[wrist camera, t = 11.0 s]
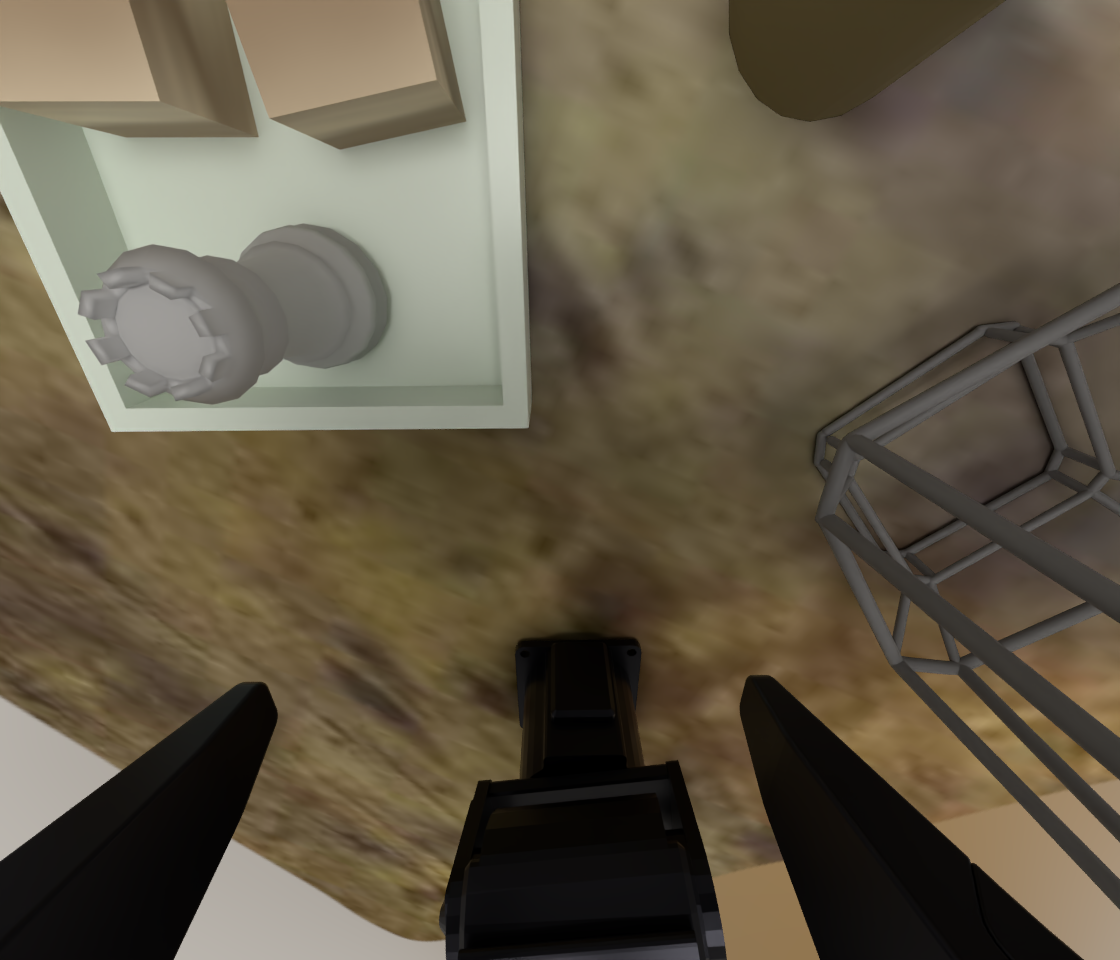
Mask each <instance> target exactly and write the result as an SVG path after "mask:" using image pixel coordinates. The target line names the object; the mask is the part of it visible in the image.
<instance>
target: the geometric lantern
mask: <svg viewBox="0 0 1120 960" xmlns="http://www.w3.org/2000/svg"><path fill="white" fill-rule="evenodd" d="M1119 306H1120V283H1119V284H1117V285H1115V286H1113V287H1111V288H1110V289H1108V290H1106V291H1104V292H1102V293H1101V294H1099V295H1097V296H1095V297H1093V298H1092V299H1090V300H1088V301H1086V302H1084V303H1083V304H1081V305H1079V306H1077V307H1075V308H1074V309H1072V310H1070V311H1068V312H1066V313H1065V314H1063V315H1061V316H1059V317H1057V318H1056V319H1054V320H1052V321H1050V322H1048V323H1047V324H1045V325H1043V326H1041V327H1039V328H1038V329H1032V328H1028V327H1024V326H1021V325H1020V324H1019V322H1016V321H1012V322H1004V323H996V324H988V325H980V326H977V327H976V328H975V329H974V330H973V331H971V332H970V333H968V334H967V335H965V336H964V337H962V338H961V339H959V340H958V341H956V342H955V343H953V344H952V345H950V346H949V347H947V348H945V349H944V350H942V351H941V352H939V353H938V354H936V355H935V356H933V357H932V358H930V359H929V360H927V361H926V362H924V363H923V364H921V365H920V366H918V367H917V368H915V369H914V370H912V371H910V372H909V373H907V374H906V375H904V376H903V377H901V378H900V379H898V380H897V381H895V382H894V383H892V384H891V385H889V386H888V387H886V388H885V389H883V390H882V391H880V392H879V393H877V394H875V395H874V396H872V397H871V398H869V399H868V400H866V401H865V402H863V403H862V404H860V405H859V406H857V407H856V408H854V409H853V410H851V411H850V412H848V413H847V414H845V415H844V416H842V417H840V418H839V419H837V420H836V421H834V422H833V423H831V424H830V425H828V426H827V427H825V428H824V429H823V430H822V431H820V432H818V434H817V439H816V447H815V455H814V465H815V466H816V467H817V468H818V469H819V471H820V473H821V474H822V476H823V477H824V479H825V480H826V483H825V486H824V489H823V492H822V495H821V498H820V501H819V505H818V509H817V512H816V516H815V521H816V522H817V523H818V524H819V526H820V528H821V530H822V532H823V534H824V536H825V538H826V540H827V542H828V544H829V545H830V547H831V549H832V551H833V553H834V555H835V557H836V559H837V561H838V563H839V565H840V567H841V569H842V571H843V573H844V575H845V577H846V579H847V581H848V583H849V585H850V587H851V589H852V591H853V593H854V595H855V597H856V599H857V601H858V603H859V605H860V607H861V609H862V611H863V613H864V615H865V617H866V619H867V621H868V623H869V625H870V627H871V629H872V631H873V633H874V635H875V637H876V639H877V641H878V643H879V645H880V647H881V649H882V651H883V652H884V654H885V656H886V658H887V660H888V662H889V664H890V665H891V667H892V668H893V669H894V670H895V671H896V672H897V674H898V675H899V676H900V677H901V678H902V679H903V680H904V681H905V682H906V683H907V684H908V685H909V686H910V687H911V688H912V690H913V691H914V692H915V693H916V694H917V695H918V696H919V697H920V698H921V699H922V700H923V701H924V702H925V703H926V704H927V705H928V707H929V708H930V709H931V710H932V711H933V712H934V713H935V714H936V715H937V716H938V717H939V718H940V719H941V720H942V721H943V723H944V724H945V725H946V726H947V727H948V728H949V729H950V730H951V731H952V732H953V733H954V734H955V735H956V736H957V737H958V739H959V740H960V741H961V742H962V743H963V744H964V745H965V746H966V747H967V748H968V749H969V750H970V751H971V752H972V753H973V754H974V756H975V757H976V758H977V759H978V760H979V761H980V762H981V763H982V764H983V765H984V766H985V767H986V768H987V769H988V770H989V771H990V773H991V774H992V775H993V776H994V777H995V778H996V779H997V780H998V781H999V782H1000V783H1001V784H1002V785H1003V786H1004V787H1005V788H1006V789H1007V791H1008V792H1009V793H1010V794H1011V795H1012V796H1013V797H1014V798H1015V799H1016V800H1017V801H1018V802H1019V803H1020V804H1021V805H1022V806H1023V808H1024V809H1025V810H1026V811H1027V812H1028V813H1029V814H1030V815H1031V816H1032V817H1033V818H1034V819H1035V820H1036V821H1037V822H1038V823H1039V824H1040V826H1041V827H1042V828H1043V829H1044V830H1045V831H1046V832H1047V833H1048V834H1049V835H1050V836H1051V837H1052V838H1053V839H1054V840H1055V841H1056V843H1057V844H1059V846H1060V847H1061V848H1062V849H1063V850H1064V851H1065V852H1066V853H1067V854H1068V855H1069V856H1070V857H1071V858H1072V859H1073V860H1074V862H1075V863H1076V864H1077V865H1078V866H1079V867H1080V868H1081V869H1082V870H1083V871H1084V872H1085V873H1086V874H1087V875H1088V876H1089V877H1090V878H1091V880H1092V881H1093V882H1094V883H1095V884H1096V885H1097V886H1098V887H1099V888H1100V889H1101V890H1102V891H1103V892H1104V893H1105V895H1106V896H1107V897H1108V898H1110V900H1111V901H1112V902H1113V903H1114V904H1115V905H1116V906H1117V907H1118V908H1119V909H1120V879H1119V878H1118V877H1117V876H1116V875H1115V874H1114V873H1113V872H1112V871H1111V870H1110V869H1109V868H1108V867H1107V866H1106V865H1105V864H1104V863H1103V862H1102V861H1101V860H1100V859H1099V858H1098V857H1097V856H1096V855H1095V854H1094V853H1093V852H1092V851H1091V850H1090V849H1089V848H1088V847H1087V846H1086V845H1085V844H1084V843H1083V842H1082V841H1081V840H1080V839H1079V838H1078V837H1077V836H1076V835H1075V834H1074V833H1073V832H1072V831H1071V830H1070V829H1069V828H1068V827H1067V826H1066V825H1065V824H1064V823H1063V822H1062V821H1061V820H1060V819H1059V818H1058V817H1057V816H1056V815H1055V814H1054V813H1053V812H1052V811H1051V810H1050V809H1049V808H1048V807H1047V806H1046V804H1045V803H1043V801H1041V800H1040V798H1039V797H1038V796H1037V795H1036V794H1035V793H1034V792H1033V791H1032V790H1031V789H1030V788H1029V787H1028V786H1027V785H1026V784H1025V783H1024V782H1023V781H1022V780H1021V779H1020V778H1019V777H1018V776H1017V775H1016V774H1015V773H1014V772H1013V771H1012V770H1011V769H1010V768H1009V767H1008V766H1007V765H1006V764H1005V763H1004V762H1003V761H1002V760H1001V759H1000V758H999V757H998V756H997V755H996V754H995V753H994V752H993V751H992V750H991V749H990V748H989V747H988V746H987V745H986V744H985V743H984V742H983V741H982V740H981V739H980V738H979V737H978V736H977V735H976V734H975V733H974V732H973V731H972V730H971V729H970V728H969V727H968V726H967V725H966V724H965V723H964V722H963V721H962V720H961V719H960V718H959V717H958V716H957V715H956V714H955V713H954V712H953V711H952V710H951V709H950V708H949V706H948V705H947V704H946V703H945V702H944V701H943V700H942V699H941V698H940V697H939V696H938V695H937V694H936V693H935V692H934V691H933V690H932V689H931V688H930V687H929V686H928V685H927V684H926V683H925V682H924V681H923V680H922V679H921V678H920V677H919V676H918V675H917V674H916V673H915V672H914V671H917V672H927V673H937V674H948V675H958V676H959V677H960V678H961V679H962V680H963V681H964V682H965V683H966V684H967V685H968V686H969V687H970V688H971V689H972V690H973V691H974V692H975V693H976V694H977V695H978V696H979V698H980V699H981V700H982V701H983V702H984V703H985V704H986V705H987V706H988V707H989V708H990V709H991V710H992V711H993V712H994V713H995V714H996V715H997V716H998V717H999V718H1000V719H1001V720H1002V722H1003V723H1004V724H1005V725H1006V726H1007V727H1008V728H1009V729H1010V730H1011V731H1012V732H1013V733H1014V734H1015V735H1016V736H1017V737H1018V738H1019V739H1020V740H1021V741H1022V742H1023V743H1024V744H1025V745H1026V746H1027V747H1028V748H1029V749H1030V751H1031V752H1032V753H1033V754H1034V755H1035V756H1036V757H1037V758H1038V759H1039V760H1040V761H1041V762H1042V763H1043V764H1044V765H1045V766H1046V767H1047V768H1048V769H1049V770H1050V771H1051V772H1052V773H1053V774H1054V775H1055V776H1056V777H1057V778H1058V779H1059V780H1060V781H1061V782H1062V783H1063V784H1064V785H1065V787H1066V788H1067V789H1068V790H1069V791H1070V792H1071V793H1072V794H1073V795H1074V796H1075V797H1076V798H1077V799H1078V800H1079V801H1080V802H1081V803H1082V804H1083V805H1084V806H1085V807H1086V808H1087V809H1088V810H1089V811H1090V812H1091V813H1092V814H1093V815H1094V816H1095V817H1096V818H1097V819H1098V820H1099V822H1100V823H1101V824H1103V826H1104V827H1105V828H1106V829H1107V830H1108V831H1109V832H1110V833H1111V834H1112V835H1113V836H1114V837H1115V838H1116V839H1117V840H1118V841H1119V842H1120V815H1119V814H1118V813H1117V812H1116V811H1114V810H1113V809H1112V807H1111V806H1110V805H1108V804H1107V803H1106V802H1105V801H1104V800H1103V799H1102V798H1101V797H1100V796H1099V795H1098V794H1097V793H1096V792H1095V791H1094V790H1093V789H1092V788H1091V787H1090V786H1089V785H1088V784H1087V783H1086V782H1085V781H1084V780H1083V779H1082V778H1081V777H1080V776H1079V775H1078V774H1077V773H1076V772H1075V771H1074V770H1073V769H1072V768H1071V767H1070V766H1069V765H1068V764H1067V763H1066V762H1065V761H1064V760H1063V759H1062V758H1061V757H1060V756H1059V755H1058V754H1057V753H1055V752H1054V751H1053V750H1052V749H1051V748H1050V747H1049V746H1048V745H1047V744H1046V743H1045V742H1044V741H1043V740H1042V739H1041V738H1040V737H1039V736H1038V735H1037V734H1036V733H1035V732H1034V731H1033V730H1032V729H1031V728H1030V727H1029V726H1028V725H1027V724H1026V723H1025V722H1024V721H1023V720H1022V719H1021V718H1020V717H1019V716H1018V715H1017V714H1016V713H1015V712H1014V711H1013V710H1012V709H1011V708H1010V707H1009V706H1008V705H1007V704H1006V703H1005V702H1004V701H1003V700H1002V699H1001V698H1000V697H999V696H998V695H997V694H996V693H995V692H994V691H993V690H992V689H991V688H990V687H989V686H988V685H987V684H986V683H985V682H984V681H983V680H982V679H981V678H980V677H979V676H978V675H977V674H976V673H975V672H974V671H973V670H972V669H974V668H976V667H978V666H981V665H983V664H985V665H987V666H988V667H989V668H990V669H991V670H992V671H994V672H995V673H996V674H997V675H998V676H999V677H1000V678H1002V679H1003V680H1004V681H1005V682H1006V683H1007V684H1009V685H1010V686H1011V687H1012V688H1013V689H1014V690H1016V691H1017V692H1018V693H1019V694H1020V695H1021V696H1023V697H1024V698H1025V699H1026V700H1027V701H1028V702H1030V703H1031V704H1032V705H1033V706H1034V707H1035V708H1037V709H1038V710H1039V711H1040V712H1041V713H1042V714H1043V715H1045V716H1046V717H1047V718H1048V719H1049V720H1050V721H1052V722H1053V723H1054V724H1055V725H1056V726H1057V727H1059V728H1060V729H1061V730H1062V731H1063V732H1064V733H1066V734H1067V735H1068V736H1069V737H1070V738H1071V739H1073V740H1074V741H1075V742H1076V743H1077V744H1078V745H1079V746H1081V747H1082V748H1083V749H1084V750H1085V751H1086V752H1088V753H1089V754H1090V755H1091V756H1092V757H1093V758H1095V759H1096V760H1097V761H1098V762H1099V763H1100V764H1102V765H1103V766H1104V767H1105V768H1106V769H1107V770H1109V771H1110V772H1111V773H1112V774H1113V775H1114V776H1116V777H1117V778H1118V779H1119V780H1120V738H1119V737H1118V736H1117V735H1115V734H1114V733H1113V732H1112V731H1110V730H1109V729H1108V728H1106V727H1105V726H1104V725H1103V724H1101V723H1100V722H1099V721H1098V720H1096V719H1095V718H1094V717H1093V716H1091V715H1090V714H1089V713H1088V712H1086V711H1085V710H1084V709H1082V708H1081V707H1080V706H1079V705H1077V704H1076V703H1075V702H1074V701H1072V700H1071V699H1070V698H1069V697H1067V696H1066V695H1065V694H1064V693H1062V692H1061V691H1060V690H1058V689H1057V688H1056V687H1055V686H1053V685H1052V684H1051V683H1050V682H1048V681H1047V680H1046V679H1045V678H1043V677H1042V676H1041V675H1040V674H1038V673H1037V672H1036V671H1034V670H1033V669H1032V668H1031V667H1029V666H1028V665H1027V664H1026V663H1024V662H1023V661H1022V660H1021V659H1019V658H1018V657H1017V656H1016V655H1014V654H1013V653H1012V652H1013V651H1015V650H1017V649H1020V648H1022V647H1024V646H1027V645H1029V644H1031V643H1034V642H1036V641H1038V640H1040V639H1043V638H1045V637H1047V636H1050V635H1052V634H1054V633H1057V632H1059V631H1061V630H1063V629H1066V628H1068V627H1070V626H1073V625H1075V624H1077V623H1079V622H1082V621H1084V620H1086V619H1089V618H1091V617H1093V616H1096V615H1098V614H1100V613H1102V612H1103V613H1105V614H1106V615H1108V616H1109V617H1111V618H1112V619H1114V620H1115V621H1117V622H1119V623H1120V585H1118V584H1116V583H1115V582H1113V581H1111V580H1110V579H1108V578H1106V577H1105V576H1103V575H1101V574H1099V573H1098V572H1096V571H1094V570H1093V569H1091V568H1089V567H1088V566H1086V565H1084V564H1082V563H1081V562H1079V561H1077V560H1076V559H1074V558H1072V557H1071V556H1069V555H1067V554H1065V553H1064V552H1062V551H1060V550H1059V549H1057V548H1055V547H1054V546H1052V545H1050V544H1048V543H1047V542H1045V541H1043V540H1042V539H1040V538H1038V537H1037V536H1035V535H1033V534H1031V533H1030V531H1032V530H1034V529H1036V528H1037V527H1039V526H1041V525H1043V524H1045V523H1046V522H1048V521H1050V520H1052V519H1054V518H1055V517H1057V516H1059V515H1061V514H1062V513H1064V512H1066V511H1068V510H1070V509H1071V508H1073V507H1075V506H1077V505H1078V504H1080V503H1082V502H1084V501H1086V500H1087V499H1089V498H1092V499H1094V500H1096V501H1097V502H1099V503H1100V504H1102V505H1103V506H1105V507H1106V508H1108V509H1109V510H1111V511H1112V512H1114V513H1115V514H1117V515H1118V516H1120V503H1118V502H1116V501H1115V500H1113V499H1112V498H1110V497H1109V496H1107V495H1106V494H1104V493H1102V492H1101V491H1099V490H1100V489H1101V488H1102V487H1103V486H1104V485H1105V484H1106V483H1107V481H1108V480H1109V479H1114V480H1119V481H1120V471H1118V470H1116V469H1115V466H1114V463H1113V460H1112V457H1111V454H1110V451H1109V448H1108V445H1107V442H1106V439H1105V436H1104V433H1103V430H1102V427H1101V424H1100V421H1099V418H1098V415H1097V412H1096V409H1095V406H1094V402H1093V399H1092V396H1091V393H1090V390H1089V387H1088V384H1087V381H1086V378H1085V375H1084V372H1083V369H1082V366H1081V363H1080V360H1079V357H1078V354H1077V351H1076V348H1075V345H1074V342H1076V341H1078V340H1081V339H1084V338H1086V337H1089V336H1092V335H1095V334H1097V333H1100V332H1103V331H1105V330H1108V329H1111V328H1114V327H1116V326H1119V325H1120V313H1118V314H1116V315H1113V316H1111V317H1108V318H1105V319H1103V320H1100V321H1097V322H1095V323H1092V324H1090V325H1087V326H1084V325H1086V324H1087V323H1089V322H1091V321H1093V320H1095V319H1097V318H1099V317H1100V316H1102V315H1104V314H1106V313H1108V312H1110V311H1111V310H1113V309H1115V308H1117V307H1119ZM1082 326H1084V327H1082ZM1080 327H1082V328H1080ZM1078 328H1079V329H1078ZM1076 329H1077V330H1076ZM984 335H985V336H986V337H989V338H994V339H999V340H1004V341H1009V342H1012V343H1010V344H1009V345H1007V346H1005V347H1003V348H1001V349H1000V350H998V351H996V352H994V353H992V354H991V355H989V356H987V357H985V358H983V359H982V360H980V361H978V362H976V363H974V364H973V365H971V366H969V367H967V368H965V369H964V370H962V371H960V372H958V373H956V374H955V375H953V376H951V377H949V378H947V379H946V380H944V381H942V382H940V383H938V384H936V385H935V386H933V387H931V388H929V389H927V390H926V391H924V392H922V393H920V394H918V395H917V396H915V397H913V398H911V399H909V400H908V401H906V402H904V403H902V404H900V405H899V406H897V407H895V408H893V409H891V410H890V411H888V412H886V413H884V414H882V415H881V416H879V417H877V418H875V419H873V420H872V421H870V422H868V423H866V424H864V425H863V426H861V427H859V428H857V429H855V430H854V431H852V432H850V433H848V434H847V435H846V436H845V437H843V439H842V440H839V439H838V438H836V437H834V436H830V435H831V434H833V433H834V432H836V431H837V430H839V429H841V428H842V427H844V426H845V425H847V424H848V423H850V422H851V421H853V420H854V419H856V418H857V417H859V416H861V415H862V414H864V413H865V412H867V411H868V410H870V409H871V408H873V407H874V406H876V405H877V404H879V403H881V402H882V401H884V400H885V399H887V398H888V397H890V396H891V395H893V394H894V393H896V392H897V391H899V390H901V389H902V388H904V387H905V386H907V385H908V384H910V383H911V382H913V381H914V380H916V379H917V378H919V377H921V376H922V375H924V374H925V373H927V372H928V371H930V370H931V369H933V368H934V367H936V366H937V365H939V364H941V363H942V362H944V361H945V360H947V359H948V358H950V357H951V356H953V355H954V354H956V353H957V352H959V351H961V350H962V349H964V348H965V347H967V346H968V345H970V344H971V343H973V342H974V341H976V340H977V339H979V338H980V337H982V336H984ZM1047 345H1050V346H1054V347H1058V348H1059V351H1060V354H1061V357H1062V360H1063V363H1064V365H1065V368H1066V371H1067V374H1068V377H1069V380H1070V383H1071V386H1072V389H1073V391H1074V394H1075V397H1076V400H1077V403H1078V406H1079V409H1080V412H1081V415H1082V417H1083V420H1084V423H1085V426H1086V429H1087V432H1088V435H1089V438H1090V440H1091V443H1092V446H1093V449H1094V452H1095V455H1096V458H1095V457H1092V456H1090V455H1087V454H1085V453H1082V452H1080V451H1077V450H1075V449H1072V448H1070V447H1068V445H1067V444H1066V441H1065V439H1064V436H1063V433H1062V431H1061V428H1060V425H1059V423H1058V420H1057V417H1056V414H1055V412H1054V409H1053V406H1052V404H1051V401H1050V398H1049V395H1048V393H1047V390H1046V387H1045V385H1044V382H1043V379H1042V376H1041V374H1040V371H1039V368H1038V366H1037V363H1036V360H1035V357H1034V355H1033V353H1034V352H1036V351H1038V350H1040V349H1041V348H1043V347H1045V346H1047ZM1020 360H1021V362H1022V365H1023V367H1024V370H1025V372H1026V375H1027V378H1028V380H1029V383H1030V385H1031V388H1032V391H1033V393H1034V396H1035V398H1036V401H1037V404H1038V406H1039V409H1040V411H1041V414H1042V417H1043V419H1044V422H1045V425H1046V427H1047V430H1048V432H1049V435H1050V438H1051V440H1052V443H1053V445H1054V448H1055V449H1054V451H1053V453H1052V455H1051V457H1050V460H1049V462H1048V464H1047V466H1046V469H1045V471H1044V473H1042V474H1040V475H1038V476H1036V477H1035V478H1033V479H1031V480H1029V481H1027V482H1026V483H1024V484H1022V485H1020V486H1018V487H1017V488H1015V489H1013V490H1011V491H1009V492H1008V493H1006V494H1004V495H1002V496H1000V497H998V498H997V499H995V500H993V501H991V502H989V503H988V504H986V505H982V504H980V503H979V502H977V501H975V500H974V499H972V498H970V497H968V496H967V495H965V494H963V493H962V492H960V491H958V490H957V489H955V488H953V487H951V486H950V485H948V484H946V483H945V482H943V481H941V480H940V479H938V478H936V477H934V476H933V475H931V474H929V473H928V472H926V471H924V470H922V469H921V468H919V467H917V466H916V465H914V464H912V463H910V462H909V461H907V460H905V459H903V458H902V457H900V456H898V455H897V454H895V453H893V452H891V451H890V450H888V449H886V448H885V447H883V446H885V445H886V444H888V443H890V442H891V441H893V440H894V439H896V438H898V437H899V436H901V435H902V434H904V433H906V432H907V431H909V430H910V429H912V428H914V427H915V426H917V425H918V424H920V423H922V422H923V421H925V420H926V419H928V418H929V417H931V416H933V415H934V414H936V413H937V412H939V411H941V410H942V409H944V408H945V407H947V406H949V405H950V404H952V403H953V402H955V401H957V400H958V399H960V398H961V397H963V396H965V395H966V394H968V393H969V392H971V391H973V390H974V389H976V388H977V387H979V386H981V385H982V384H984V383H985V382H987V381H989V380H990V379H992V378H993V377H995V376H997V375H998V374H1000V373H1001V372H1003V371H1004V370H1006V369H1008V368H1009V367H1011V366H1012V365H1014V364H1016V363H1017V362H1019V361H1020ZM827 436H830V437H828V438H827ZM876 438H877V439H876ZM874 439H875V440H874ZM826 440H827V443H828V444H829V445H831V446H832V447H834V448H836V449H837V450H836V453H835V456H834V458H833V462H832V463H831V462H830V461H828V460H826V459H825V460H824V455H825V448H826ZM872 440H874V441H872ZM1064 456H1066V457H1068V458H1071V459H1073V460H1076V461H1078V462H1080V463H1083V464H1085V465H1088V466H1090V467H1093V468H1095V469H1097V470H1100V472H1099V473H1098V474H1097V475H1096V476H1095V478H1094V479H1093V480H1092V481H1091V482H1090V483H1089V484H1088V486H1086V485H1084V484H1082V483H1080V482H1078V481H1076V480H1075V479H1073V478H1071V477H1069V476H1067V475H1065V474H1063V473H1061V472H1059V471H1057V470H1058V468H1059V466H1060V464H1061V462H1062V460H1063V458H1064ZM864 458H865V459H867V460H868V461H870V462H871V463H873V464H874V465H876V466H877V467H879V468H881V469H882V470H884V471H885V472H887V473H888V474H890V475H891V476H893V477H894V478H896V479H898V480H899V481H901V482H902V483H904V484H905V485H907V486H908V487H910V488H911V489H913V490H915V491H916V492H918V493H919V494H921V495H922V496H924V497H925V498H927V499H928V500H930V501H932V502H933V503H935V504H936V505H938V506H939V507H941V508H942V509H944V510H945V511H947V512H949V513H950V514H952V515H953V516H955V517H956V518H958V519H959V520H957V521H955V522H953V523H952V524H950V525H948V526H946V527H944V528H942V529H941V530H939V531H937V532H935V533H933V534H932V535H930V536H928V537H926V538H924V539H923V540H921V541H919V542H917V543H915V544H914V545H912V546H910V547H908V548H906V549H905V550H898V549H897V547H896V546H895V544H894V542H893V541H892V539H891V537H890V536H889V534H888V533H887V531H886V529H885V528H884V526H883V524H882V523H881V521H880V520H879V518H878V516H877V515H876V513H875V512H874V510H873V508H872V507H871V505H870V503H869V502H868V500H867V499H866V497H865V495H864V494H863V492H862V490H861V489H860V487H859V486H858V484H857V482H856V481H855V479H854V476H855V473H856V470H857V467H858V464H859V461H860V460H862V459H864ZM1052 478H1053V479H1054V480H1056V481H1058V482H1060V483H1062V484H1064V485H1065V486H1067V487H1069V488H1071V489H1073V490H1075V491H1076V492H1078V493H1077V494H1075V495H1074V496H1072V497H1070V498H1068V499H1067V500H1065V501H1063V502H1061V503H1060V504H1058V505H1056V506H1054V507H1052V508H1051V509H1049V510H1047V511H1045V512H1044V513H1042V514H1040V515H1038V516H1037V517H1035V518H1033V519H1031V520H1030V521H1028V522H1026V523H1024V524H1023V525H1021V526H1018V525H1016V524H1014V523H1013V522H1011V521H1009V520H1008V519H1006V518H1004V517H1003V516H1001V515H999V514H997V513H996V512H994V510H995V509H997V508H999V507H1001V506H1003V505H1005V504H1006V503H1008V502H1010V501H1012V500H1014V499H1015V498H1017V497H1019V496H1021V495H1023V494H1025V493H1026V492H1028V491H1030V490H1032V489H1034V488H1036V487H1037V486H1039V485H1041V484H1043V483H1045V482H1047V481H1048V480H1050V479H1052ZM847 490H849V491H850V493H851V495H852V496H853V498H854V499H855V501H856V502H857V504H858V506H859V507H860V509H861V510H862V512H863V513H864V515H865V517H866V518H867V520H868V521H869V523H870V524H871V526H872V528H873V529H874V531H875V532H876V534H877V536H878V537H879V539H880V540H881V542H882V543H883V545H884V547H885V548H886V550H887V551H882V550H881V549H880V548H879V546H878V545H877V543H876V542H875V540H874V538H873V537H872V535H871V534H870V532H869V531H868V529H867V527H866V526H865V524H864V523H863V521H862V520H861V518H860V516H859V515H858V513H857V512H856V510H855V509H854V507H853V505H852V504H851V502H850V501H849V499H848V498H847V496H846V494H845V493H846V491H847ZM839 502H840V503H841V505H842V507H843V508H844V510H845V511H846V513H847V514H848V516H849V517H850V519H851V520H852V522H853V523H854V525H855V527H856V528H857V530H858V531H859V532H858V531H856V530H855V529H854V528H852V527H851V526H850V525H848V524H847V523H846V522H845V521H843V520H842V519H841V518H839V517H838V516H836V515H835V511H836V508H837V505H838V503H839ZM966 525H969V526H970V527H972V528H973V529H975V530H976V531H978V532H979V533H981V534H983V535H984V536H986V537H987V538H989V539H990V540H992V541H993V542H991V543H989V544H987V545H986V546H984V547H982V548H980V549H979V550H977V551H975V552H973V553H971V554H970V555H968V556H966V557H964V558H963V559H961V560H959V561H957V562H956V563H954V564H952V565H950V566H949V567H947V568H945V569H943V570H942V571H940V572H938V573H936V574H935V573H934V572H933V571H932V570H930V569H929V568H928V567H927V566H926V565H925V564H924V563H923V562H922V561H921V560H919V559H918V558H917V557H916V556H915V555H914V554H915V553H917V552H919V551H920V550H922V549H924V548H926V547H928V546H930V545H931V544H933V543H935V542H937V541H939V540H941V539H942V538H944V537H946V536H948V535H950V534H952V533H953V532H955V531H957V530H959V529H961V528H963V527H964V526H966ZM1002 547H1003V548H1004V549H1006V550H1007V551H1009V552H1010V553H1012V554H1013V555H1015V556H1017V557H1018V558H1020V559H1021V560H1023V561H1024V562H1026V563H1027V564H1029V565H1030V566H1032V567H1034V568H1035V569H1037V570H1038V571H1040V572H1041V573H1043V574H1044V575H1046V576H1047V577H1049V578H1051V579H1052V580H1054V581H1055V582H1057V583H1058V584H1060V585H1061V586H1063V587H1064V588H1066V589H1068V590H1069V591H1071V592H1072V593H1074V594H1075V595H1077V596H1078V597H1080V598H1081V599H1083V600H1085V601H1086V602H1085V603H1082V604H1080V605H1078V606H1076V607H1073V608H1071V609H1069V610H1067V611H1064V612H1062V613H1060V614H1058V615H1055V616H1053V617H1051V618H1049V619H1046V620H1044V621H1042V622H1040V623H1037V624H1035V625H1033V626H1031V627H1028V628H1026V629H1024V630H1022V631H1019V632H1017V633H1015V634H1013V635H1010V636H1008V637H1006V638H1004V639H1001V640H999V641H997V640H995V639H994V638H993V637H992V636H990V635H989V634H988V633H986V632H985V631H984V630H983V629H981V628H980V627H979V626H978V625H976V624H975V623H974V622H973V621H971V620H970V619H969V618H968V617H966V616H965V615H964V614H962V613H961V612H960V611H959V610H957V609H956V608H955V607H954V606H952V605H951V604H950V603H949V602H947V601H946V600H945V599H943V598H942V597H941V596H940V595H939V592H938V589H937V586H936V584H938V583H940V582H941V581H943V580H945V579H947V578H948V577H950V576H952V575H954V574H956V573H957V572H959V571H961V570H963V569H964V568H966V567H968V566H970V565H972V564H973V563H975V562H977V561H979V560H980V559H982V558H984V557H986V556H988V555H989V554H991V553H993V552H995V551H997V550H998V549H1000V548H1002ZM850 549H851V550H852V551H853V552H854V553H856V554H857V555H858V556H859V557H860V558H862V559H863V560H864V561H865V562H866V563H868V564H869V565H870V566H871V567H872V568H874V569H875V570H876V571H877V572H878V573H880V574H881V575H882V576H883V577H884V578H885V579H887V580H888V581H889V582H890V583H891V584H892V585H894V586H895V587H896V588H897V589H898V590H899V591H901V596H900V601H899V606H898V611H897V616H896V621H895V626H894V631H893V636H892V635H891V633H890V631H889V629H888V627H887V625H886V623H885V621H884V619H883V616H882V614H881V612H880V610H879V608H878V606H877V604H876V602H875V600H874V598H873V596H872V594H871V591H870V589H869V587H868V585H867V583H866V581H865V579H864V577H863V575H862V573H861V571H860V568H859V566H858V564H857V562H856V560H855V558H854V556H853V554H852V552H851V550H850ZM904 557H905V558H906V559H907V560H908V561H909V562H910V563H911V564H913V565H914V566H915V567H916V568H917V569H918V570H919V571H920V572H921V573H922V574H923V575H924V576H921V575H913V573H912V571H911V570H910V568H909V567H908V565H907V563H906V562H905V560H904V559H903V558H904ZM910 601H912V602H913V603H915V604H916V605H917V606H918V607H919V608H920V609H921V610H923V611H924V612H925V613H926V614H927V615H928V616H930V617H931V618H932V619H933V620H934V621H935V622H937V623H938V625H939V628H940V631H941V634H942V637H943V640H944V644H945V647H946V650H947V653H948V656H949V659H950V661H942V660H932V659H921V658H911V657H904V656H901V654H900V652H901V647H902V642H903V637H904V632H905V627H906V622H907V616H908V611H909V606H910ZM953 637H954V638H955V639H956V640H958V641H959V642H960V643H961V644H962V645H963V646H964V647H966V648H967V649H968V650H969V651H970V652H971V653H970V654H967V655H965V656H963V657H961V658H960V656H959V653H958V650H957V647H956V644H955V641H954V638H953Z"/></svg>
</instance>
